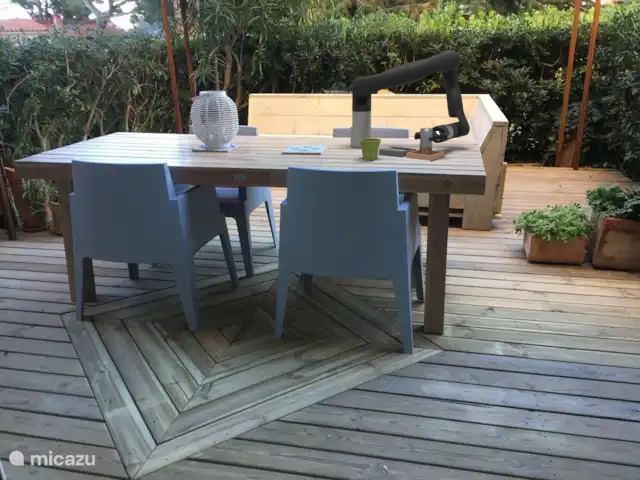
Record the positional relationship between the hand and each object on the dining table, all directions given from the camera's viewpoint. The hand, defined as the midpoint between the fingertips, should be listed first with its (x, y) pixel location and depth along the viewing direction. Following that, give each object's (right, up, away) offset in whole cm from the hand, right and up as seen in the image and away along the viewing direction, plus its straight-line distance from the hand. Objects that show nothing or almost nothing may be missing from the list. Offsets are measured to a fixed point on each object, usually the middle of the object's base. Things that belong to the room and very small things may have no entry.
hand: (424, 137), depth 232 cm
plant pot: (-23, -9, +3) cm, 25 cm away
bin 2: (+1, -8, +4) cm, 9 cm away
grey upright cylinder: (+1, -7, +4) cm, 9 cm away
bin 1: (-9, -6, +13) cm, 17 cm away
